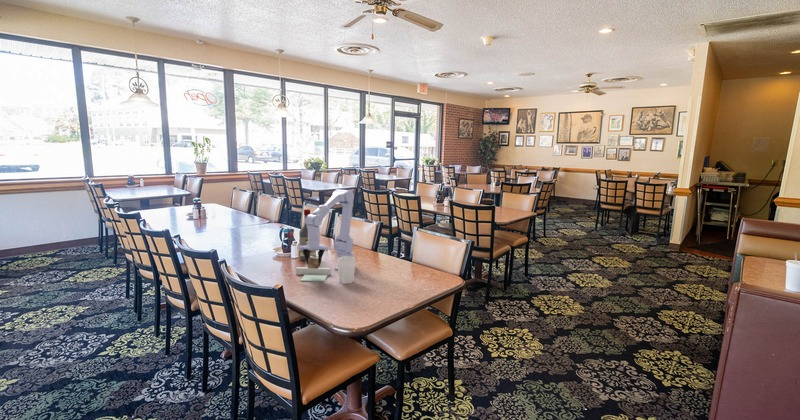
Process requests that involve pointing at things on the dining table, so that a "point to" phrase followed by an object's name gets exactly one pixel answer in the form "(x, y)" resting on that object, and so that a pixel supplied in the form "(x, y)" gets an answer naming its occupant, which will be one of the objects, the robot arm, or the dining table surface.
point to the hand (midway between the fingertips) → (314, 264)
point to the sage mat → (314, 278)
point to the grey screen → (313, 271)
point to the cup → (346, 269)
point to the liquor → (305, 238)
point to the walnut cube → (313, 262)
